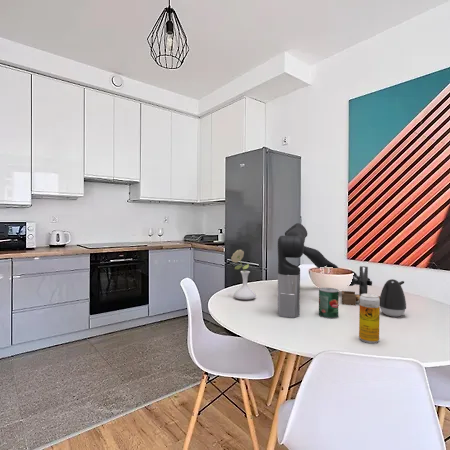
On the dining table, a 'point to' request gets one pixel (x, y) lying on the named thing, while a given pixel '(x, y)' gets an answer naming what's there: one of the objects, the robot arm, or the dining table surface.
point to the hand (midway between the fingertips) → (367, 283)
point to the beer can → (369, 318)
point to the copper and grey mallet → (364, 277)
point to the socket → (348, 298)
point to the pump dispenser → (393, 298)
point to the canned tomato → (328, 303)
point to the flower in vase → (244, 291)
